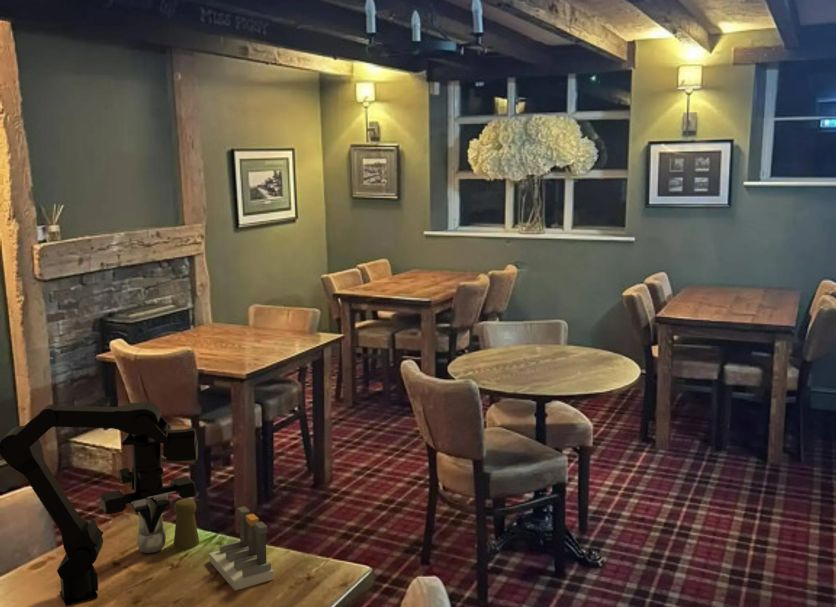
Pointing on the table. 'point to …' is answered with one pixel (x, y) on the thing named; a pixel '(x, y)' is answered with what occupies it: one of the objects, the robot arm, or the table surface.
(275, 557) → the table surface
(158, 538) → the plastic bottle
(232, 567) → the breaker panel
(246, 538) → the handle
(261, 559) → the right breaker handle
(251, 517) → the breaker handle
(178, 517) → the olive pepper mill
